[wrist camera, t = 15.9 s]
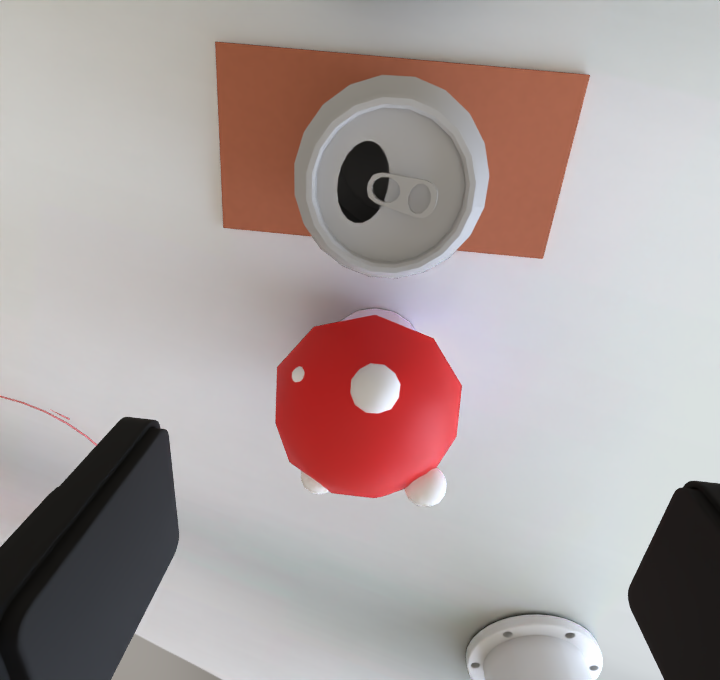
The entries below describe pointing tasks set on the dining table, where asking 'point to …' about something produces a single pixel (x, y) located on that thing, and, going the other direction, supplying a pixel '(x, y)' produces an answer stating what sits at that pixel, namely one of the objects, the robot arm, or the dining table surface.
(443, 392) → the mushroom
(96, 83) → the dining table surface
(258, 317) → the dining table surface
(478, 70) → the napkin
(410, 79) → the can
